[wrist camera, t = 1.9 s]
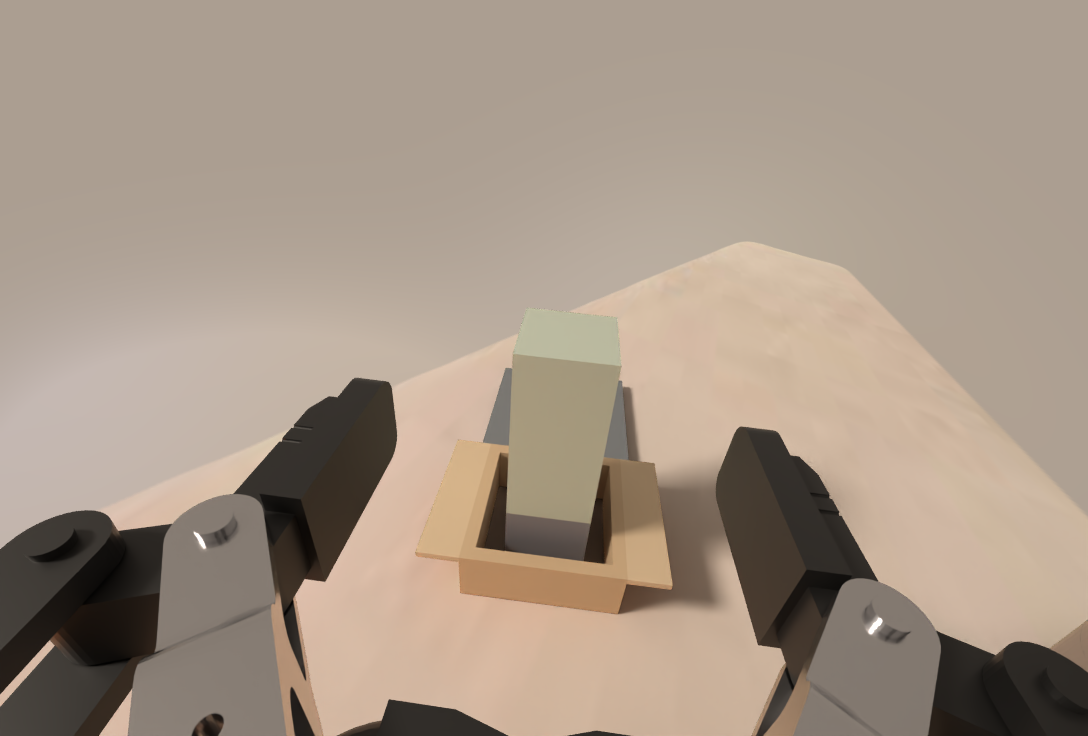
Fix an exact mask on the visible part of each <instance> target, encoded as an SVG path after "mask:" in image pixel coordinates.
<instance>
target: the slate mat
mask: <svg viewBox="0 0 1088 736" xmlns="http://www.w3.org/2000/svg"><path fill="white" fill-rule="evenodd" d="M511 385H512V369H511V368H506V369H505V372H504V376H503V379H502V382H501V385H500V388H499V392H498V395H497V398H496V401H495V405H494V408H493V411H492V414H491V418H490V421H489V424H488V427H487V431H486V434H485V437H484V440H483V443H489V444H498V445H506V446H509V433H510V409H511ZM604 457H606V458H614V459H622V460H629V459H628V447H627V435H626V424H625V412H624V400H623V388H622V381H618V386H617V391H616V396H615V402H614V407H613V412H612V417H611V422H610V427H609V432H608V437H607V442H606V448H605V453H604Z"/></svg>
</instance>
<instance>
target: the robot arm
mask: <svg viewBox="0 0 1088 736" xmlns="http://www.w3.org/2000/svg"><path fill="white" fill-rule="evenodd" d="M396 442H397V429H396V420H395V411H394V403H393V394H392V388H391V385H390V383H389V382H386V381H378V380H370V379H362V378H354V379H353V380H352V381H351V382H350V383H349V384H348V385H347V387H346V388H345V389H344V390H343V391H342V393H341V394H340V395H339V396H338V397H327V398H325V399H324V400H322V401H321V402H319V403H317V404H316V405H314V406H312V407H310V408H309V409H308V410H307V411H306V412H305V413H304V414H303V415H302V417H301V418H300V419H299V420H298V421H297V422H296V423H295V424H294V428H291V429H290V430H289V431H288V432H287V433H286V435H285V436H284V437H283V439H282V442H279V443H278V444H277V445H276V446H275V447H274V448H273V449H272V451H271V452H270V453H269V454H268V455H267V456H266V457H265V459H264V460H263V461H262V462H261V463H260V464H259V465H258V467H257V468H256V469H255V470H254V471H253V472H252V473H251V474H250V476H249V477H248V478H247V479H246V480H245V481H244V482H243V484H242V485H241V486H240V487H239V488H238V489H237V490H236V492H235V493H234V494H229V495H223V496H219V497H215V498H212V499H209V500H206V501H204V502H202V503H200V504H198V505H196V506H194V507H192V508H191V509H189V510H188V511H186V512H185V513H183V514H182V515H181V516H180V517H179V518H178V519H177V520H176V521H175V522H174V523H173V524H168V525H160V526H153V527H145V528H138V529H130V530H122V531H118V530H117V529H116V527H115V526H114V524H113V522H112V521H111V519H110V518H109V517H108V516H107V515H106V514H104V513H101V512H98V511H86V510H85V511H76V512H71V513H66V514H63V515H59V516H56V517H53V518H51V519H48V520H45V521H43V522H41V523H39V524H36V525H35V526H33V527H31V528H29V529H27V530H26V531H24V532H22V533H21V534H20V535H18V536H16V537H15V538H14V539H12V540H11V541H10V542H9V543H7V544H6V545H5V546H4V547H2V548H1V549H0V694H1V693H2V692H3V691H4V689H5V688H6V687H7V686H8V685H9V684H10V683H11V682H12V681H13V680H14V678H15V677H16V676H17V675H18V674H19V673H20V672H21V671H22V670H23V669H24V668H25V666H26V665H27V664H28V663H29V662H30V661H31V660H32V659H33V658H34V657H35V655H36V654H37V653H38V652H39V651H40V650H41V649H42V648H43V647H44V646H45V645H46V643H47V642H48V641H49V640H50V641H51V642H52V643H53V644H54V645H55V646H54V647H53V649H52V650H51V651H50V652H49V653H48V654H47V655H46V656H45V657H44V659H43V660H42V661H41V662H40V663H39V664H38V665H37V666H36V668H35V669H34V670H33V671H32V672H31V673H30V674H29V675H28V676H27V678H26V679H25V680H24V681H23V682H22V683H21V684H20V685H19V687H18V688H17V689H16V690H15V691H14V692H13V693H12V694H11V695H10V697H9V698H8V699H7V700H6V701H5V702H4V703H3V704H2V706H1V707H0V736H99V735H100V733H101V732H102V730H103V729H104V727H105V726H106V725H107V723H108V722H109V720H110V719H111V718H112V716H113V715H114V713H115V712H116V710H117V709H118V708H119V706H120V705H121V703H122V702H123V701H124V699H125V698H126V696H127V695H128V693H129V692H130V691H131V689H132V698H131V708H130V718H129V728H128V736H323V731H322V727H321V722H320V718H319V714H318V711H317V707H316V704H315V700H314V696H313V691H312V687H311V681H310V675H309V670H308V664H307V658H306V653H305V647H304V641H303V636H302V630H301V624H300V619H299V613H298V607H297V602H296V598H295V594H296V593H297V591H298V589H299V588H300V586H301V584H302V582H303V581H304V579H309V580H316V581H323V582H325V581H326V579H327V577H328V576H329V574H330V572H331V570H332V568H333V566H334V564H335V563H336V561H337V559H338V557H339V555H340V553H341V552H342V550H343V548H344V546H345V544H346V542H347V540H348V539H349V537H350V535H351V533H352V531H353V529H354V528H355V526H356V524H357V522H358V520H359V518H360V516H361V515H362V513H363V511H364V509H365V507H366V505H367V503H368V502H369V500H370V498H371V496H372V494H373V492H374V491H375V489H376V487H377V485H378V483H379V481H380V479H381V478H382V476H383V474H384V472H385V470H386V468H387V467H388V465H389V463H390V461H391V459H392V457H393V454H394V451H395V447H396ZM829 496H830V495H829V493H828V491H827V489H826V488H825V486H824V484H823V482H822V481H821V479H820V477H819V475H818V474H817V473H816V472H815V471H814V470H813V469H812V468H810V467H809V466H808V465H807V464H806V463H805V462H804V461H803V460H802V459H801V458H800V457H798V456H790V454H789V452H788V450H787V448H786V446H785V444H784V442H783V440H782V438H781V437H780V435H779V433H778V432H776V431H773V430H765V429H757V428H749V427H739V428H738V429H737V430H736V432H735V434H734V436H733V439H732V441H731V444H730V446H729V449H728V451H727V454H726V456H725V459H724V461H723V464H722V466H721V469H720V471H719V474H718V477H717V483H716V498H717V503H718V507H719V510H720V514H721V517H722V521H723V524H724V528H725V531H726V535H727V538H728V542H729V545H730V549H731V552H732V556H733V559H734V563H735V566H736V570H737V573H738V577H739V580H740V584H741V587H742V591H743V594H744V597H745V601H746V604H747V608H748V611H749V615H750V618H751V622H752V625H753V629H754V632H755V636H756V639H757V643H758V645H762V646H769V647H776V648H781V650H782V653H783V656H784V659H785V662H786V663H785V664H784V665H783V667H782V668H781V670H780V672H779V674H778V677H777V679H776V681H775V683H774V686H773V688H772V690H771V692H770V695H769V697H768V699H767V702H766V704H765V706H764V708H763V711H762V713H761V715H760V717H759V720H758V722H757V724H756V726H755V729H754V731H753V733H752V736H1088V620H1087V621H1085V622H1084V623H1083V624H1081V625H1080V626H1079V627H1077V628H1076V629H1075V630H1073V631H1072V632H1071V633H1070V634H1068V635H1067V636H1066V637H1064V638H1063V639H1062V640H1060V641H1059V642H1058V643H1056V644H1055V645H1054V646H1052V647H1051V648H1050V649H1049V648H1046V647H1043V646H1041V645H1038V644H1034V643H1030V642H1022V641H1021V642H1013V643H1011V644H1009V645H1008V646H1006V647H1005V648H1004V649H1003V650H1002V651H1000V652H999V653H998V654H997V655H994V654H991V653H989V652H986V651H984V650H981V649H979V648H977V647H974V646H972V645H969V644H967V643H964V642H962V641H959V640H957V639H954V638H952V637H950V636H947V635H945V634H942V633H940V632H938V631H936V630H935V628H934V627H933V625H932V623H931V622H930V620H929V619H928V618H927V616H926V615H925V614H924V613H923V612H922V611H921V610H920V609H919V608H918V607H917V606H916V605H915V604H914V603H913V602H912V601H911V600H909V599H908V598H907V597H905V596H904V595H903V594H901V593H900V592H898V591H897V590H895V589H893V588H891V587H889V586H887V585H885V584H883V583H880V582H878V580H877V578H876V576H875V575H874V573H873V571H872V569H871V567H870V566H869V564H868V562H867V560H866V559H865V557H864V555H863V553H862V551H861V550H860V548H859V546H858V544H857V543H856V541H855V539H854V537H853V536H852V534H851V532H850V530H849V528H848V527H847V525H846V523H845V521H844V520H843V518H842V516H839V511H838V509H837V507H836V505H835V504H834V502H833V500H832V499H830V498H829ZM337 736H508V735H506V734H504V733H502V732H500V731H498V730H496V729H494V728H492V727H490V726H488V725H486V724H484V723H482V722H480V721H478V720H476V719H474V718H472V717H470V716H468V715H466V714H464V713H462V712H460V711H458V710H456V709H449V708H442V707H436V706H429V705H423V704H416V703H409V702H403V701H396V700H389V701H388V704H387V707H386V710H385V713H384V716H383V719H382V721H377V722H372V723H368V724H365V725H362V726H359V727H356V728H353V729H351V730H348V731H346V732H344V733H342V734H340V735H337ZM569 736H629V735H622V734H615V733H609V732H602V731H592V732H586V733H580V734H575V735H569Z"/></svg>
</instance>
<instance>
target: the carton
mask: <svg viewBox="0 0 1088 736" xmlns="http://www.w3.org/2000/svg"><path fill="white" fill-rule="evenodd" d="M508 457H509V446H506V445H498V444H489V443H481V442H473V441H465V440H458V441H457V444H456V446H455V449H454V452H453V454H452V457H451V460H450V462H449V465H448V467H447V470H446V473H445V475H444V478H443V481H442V483H441V486H440V488H439V491H438V494H437V496H436V499H435V502H434V504H433V507H432V510H431V512H430V515H429V517H428V520H427V523H426V525H425V528H424V531H423V533H422V536H421V539H420V541H419V544H418V546H417V549H416V552H415V553H416V556H418V557H425V558H433V559H440V560H448V561H456V562H459V576H460V593H465V594H472V595H480V596H487V597H495V598H502V599H510V600H517V601H524V602H532V603H539V604H547V605H554V606H562V607H569V608H576V609H584V610H591V611H599V612H606V613H614V614H618V612H619V608H620V605H621V601H622V598H623V595H624V591H625V588H626V584H630V585H638V586H645V587H653V588H661V589H668V590H671V589H672V586H673V584H672V578H671V571H670V564H669V558H668V551H667V544H666V538H665V531H664V524H663V518H662V511H661V504H660V498H659V491H658V484H657V478H656V471H655V464H654V463H647V462H639V461H631V460H622V459H614V458H606V457H604V458H603V463H602V468H601V473H600V478H599V483H598V488H597V494H596V498H600V499H603V545H604V564H600V563H593V562H585V561H577V560H569V559H562V558H554V557H546V556H539V555H531V554H523V553H516V552H508V551H500V550H493V549H485V548H484V547H485V543H486V539H487V534H488V530H489V526H490V522H491V518H492V513H493V509H494V505H495V501H496V496H497V492H498V488H499V486H503V487H507V481H508Z"/></svg>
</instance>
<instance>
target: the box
mask: <svg viewBox="0 0 1088 736" xmlns="http://www.w3.org/2000/svg"><path fill="white" fill-rule="evenodd" d="M620 371H621V355H620V344H619V332H618V321H617V317H608V316H599V315H590V314H581V313H571V312H562V311H552V310H543V309H534V308H527V309H526V312H525V315H524V318H523V322H522V325H521V328H520V332H519V335H518V338H517V342H516V345H515V348H514V352H513V361H512V385H511V409H510V433H509V457H508V481H507V505H506V529H505V551H508V552H516V553H523V554H531V555H539V556H546V557H554V558H562V559H569V560H577V561H583V560H584V555H585V550H586V545H587V540H588V535H589V529H590V524H591V519H592V514H593V509H594V504H595V499H596V494H597V488H598V483H599V478H600V473H601V468H602V463H603V458H604V453H605V448H606V442H607V437H608V432H609V427H610V422H611V417H612V412H613V407H614V402H615V396H616V391H617V386H618V381H619V376H620Z"/></svg>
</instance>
